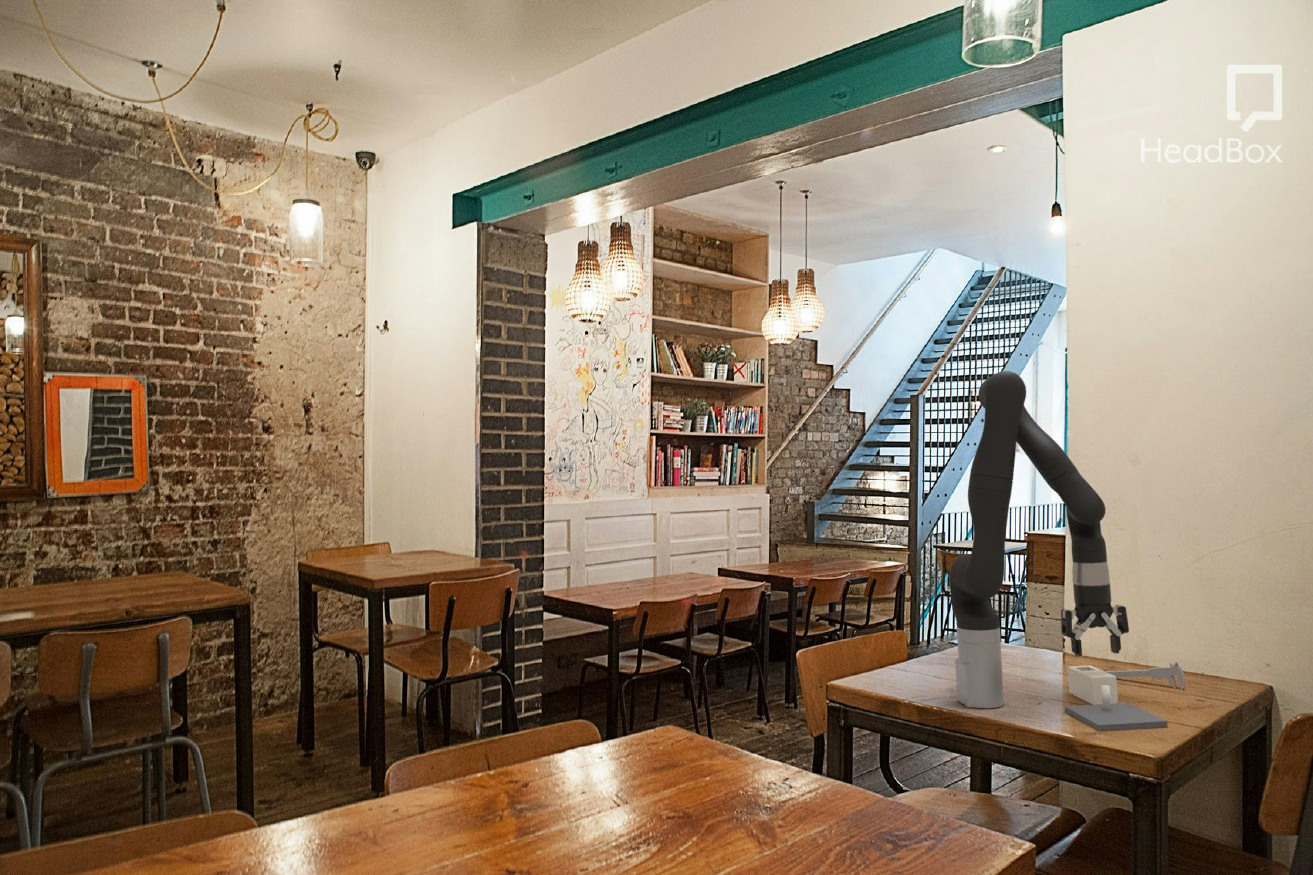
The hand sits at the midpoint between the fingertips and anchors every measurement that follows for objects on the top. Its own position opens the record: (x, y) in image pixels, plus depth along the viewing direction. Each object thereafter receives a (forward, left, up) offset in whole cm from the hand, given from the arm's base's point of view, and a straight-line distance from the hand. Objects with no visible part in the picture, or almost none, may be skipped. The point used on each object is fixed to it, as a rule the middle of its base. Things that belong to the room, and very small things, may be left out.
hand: (1096, 654), depth 203 cm
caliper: (+17, +13, -11) cm, 24 cm away
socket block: (0, +2, -10) cm, 11 cm away
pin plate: (-4, -14, -10) cm, 18 cm away
